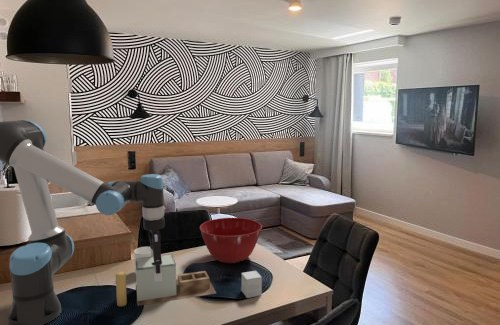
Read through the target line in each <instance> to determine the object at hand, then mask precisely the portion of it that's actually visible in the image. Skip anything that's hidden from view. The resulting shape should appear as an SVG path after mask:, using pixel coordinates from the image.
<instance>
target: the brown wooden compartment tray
mask: <svg viewBox="0 0 500 325" xmlns="http://www.w3.org/2000/svg"><path fill="white" fill-rule="evenodd" d="M135 292H136V293H135V295H136V297H137V288H136V287H135ZM214 294H217V291H216V290H215V288H214V286H213V283H212V282H211V278H210V275H208V273H207V271H206V270H201V271H194V272H187V273H181V274H177V278H176V295H174V296H168V297H161V298H155V299H148V300H142V301H137V300H136V306H138V307H140V306H145V305H150V304H157V303H164V302H171V301H177V300H178V301H179V300H184V299H190V298H197V297H202V296H209V295H214Z"/></svg>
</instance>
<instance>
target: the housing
mask: <svg viewBox="0 0 500 325" xmlns="http://www.w3.org/2000/svg"><path fill="white" fill-rule="evenodd" d="M161 259H162V281H158V282H154V266H153V265H152V263H154V258H153V256H152V257H144V258H136V259H135V263H136V274H135V278H136V279H135V281H136V282H135V289H136V288H137V296H136V302H137V301H142V300H148V299H155V298H161V297H168V296H174V295H176V279H177V269H176V268H177V267H176V265H177V264H176V261H175V259H174V255H173V254H171V253H169V254H163V255H162V254H161ZM158 261H160V260H158ZM135 263H134V264H135Z"/></svg>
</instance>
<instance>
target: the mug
mask: <svg viewBox="0 0 500 325" xmlns="http://www.w3.org/2000/svg"><path fill="white" fill-rule="evenodd" d="M151 250H152V249H151V248H150V246H141V247H137V248H136V249H134V250H133V259H134V263H133V264H134V274H135V275H136V263H135V259H136V258H144V257H151Z"/></svg>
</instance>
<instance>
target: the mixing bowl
mask: <svg viewBox="0 0 500 325" xmlns="http://www.w3.org/2000/svg"><path fill="white" fill-rule="evenodd" d="M262 229H263V225H262V224H261V223H260V222H258V221H256V220H253V219H249V218H244V217H221V218H215V219H210V220H207V221H204V222H203V223H202V224H200V226H199V230H200V232H201V237H202V239H203V241H204V244H205V246H206V248H207V251H208V252H209V254H210V255H211V257H213V258H214V259H215V260H217V261H218V262H221V263H223V264H237V263H240V261H241V262H243V261H245V260H246V259H247V258H249V257H250V256H251V255H252V253H253V251H254V249H255V247H256V246H257V244H258V240H259V237H260V234H261V230H262ZM236 262H237V263H236Z"/></svg>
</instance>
